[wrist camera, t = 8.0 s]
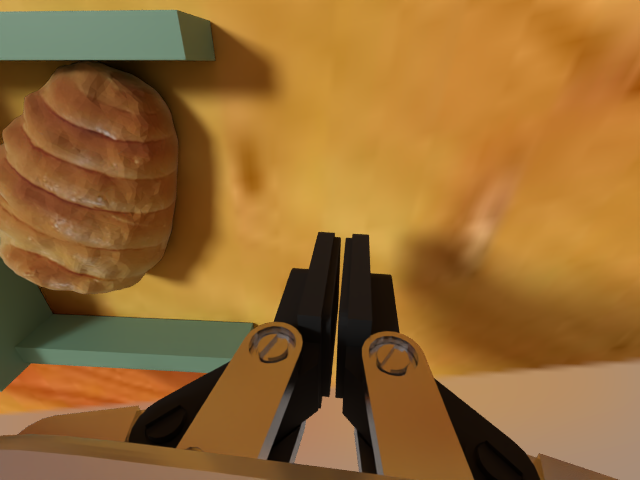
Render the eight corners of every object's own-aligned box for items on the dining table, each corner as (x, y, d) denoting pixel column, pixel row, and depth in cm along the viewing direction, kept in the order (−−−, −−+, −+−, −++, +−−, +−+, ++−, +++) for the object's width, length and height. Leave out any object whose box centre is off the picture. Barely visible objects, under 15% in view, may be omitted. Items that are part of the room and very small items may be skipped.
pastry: (52, 19, 11) (-66, 1, 8) (224, 120, 13) (183, 140, 9) (30, 217, 16) (-54, 259, 12) (160, 277, 17) (117, 329, 14)
